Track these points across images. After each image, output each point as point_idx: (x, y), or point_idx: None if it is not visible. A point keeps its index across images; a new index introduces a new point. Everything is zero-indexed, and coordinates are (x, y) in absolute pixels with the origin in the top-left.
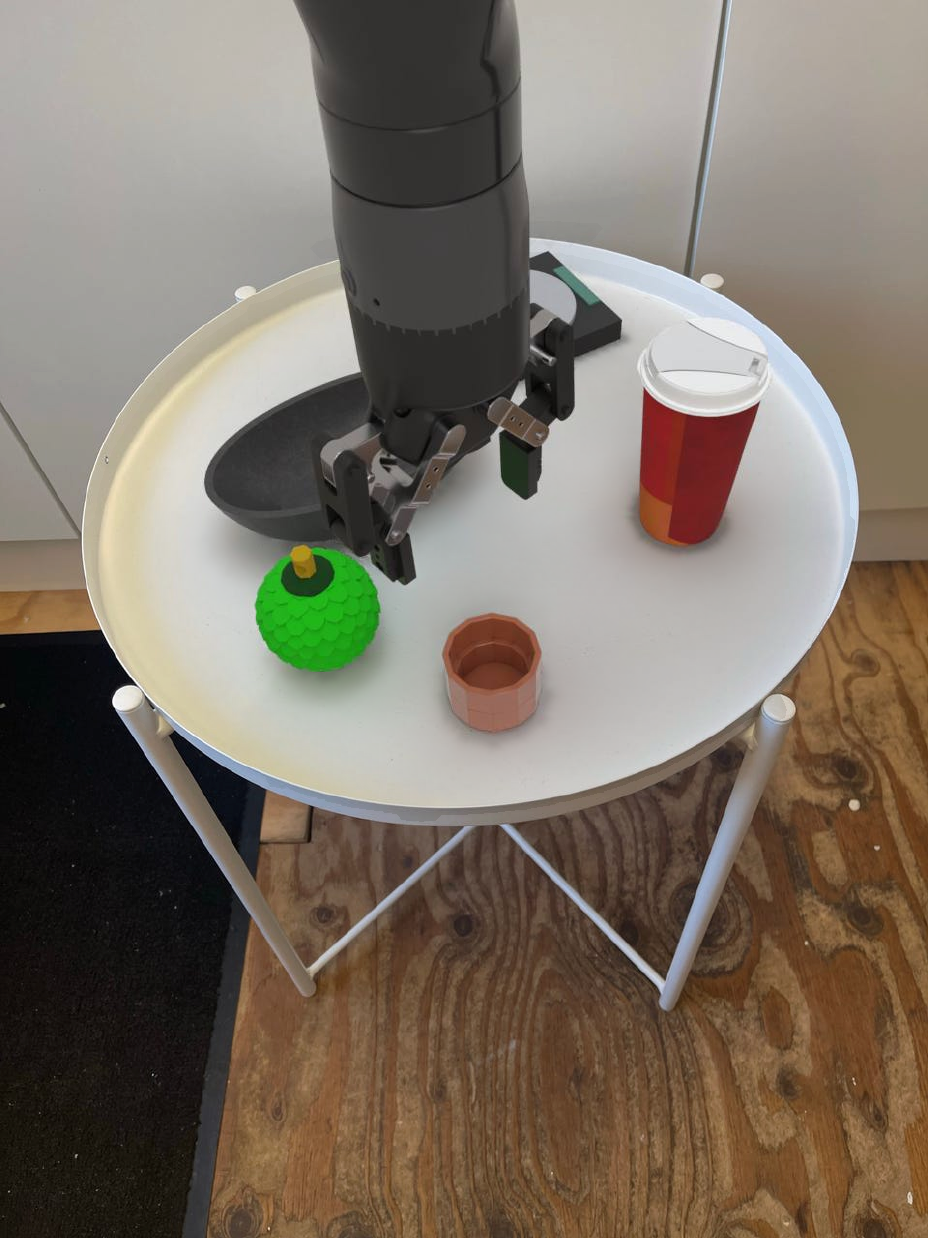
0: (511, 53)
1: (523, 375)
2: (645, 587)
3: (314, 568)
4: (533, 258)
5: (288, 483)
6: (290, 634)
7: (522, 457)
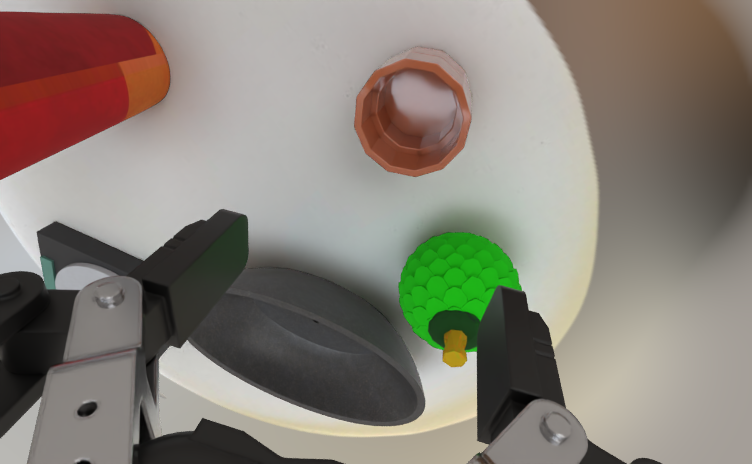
0: None
1: None
2: (218, 39)
3: (452, 334)
4: None
5: (355, 357)
6: None
7: (185, 284)
